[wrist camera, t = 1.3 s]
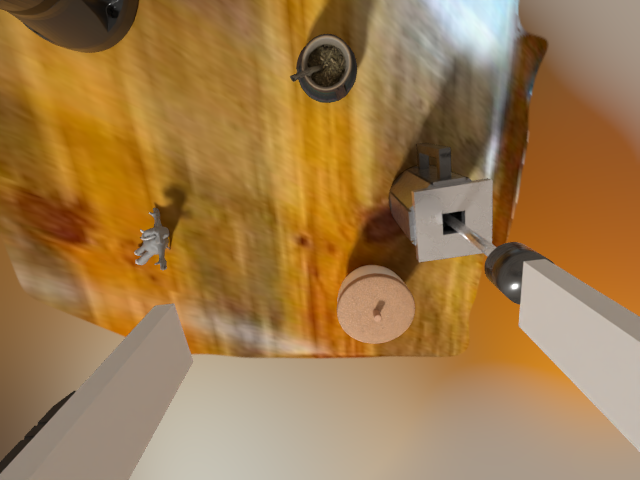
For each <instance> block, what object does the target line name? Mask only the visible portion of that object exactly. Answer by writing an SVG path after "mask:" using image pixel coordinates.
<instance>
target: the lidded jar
mask: <svg viewBox="0 0 640 480" xmlns="http://www.w3.org/2000/svg"><path fill="white" fill-rule="evenodd" d="M414 313H415V303H414V299H413V296H412V294H411V292H410V290H409V289H408V288H407V286H406V285H405V283H404V282H403V280H402V279H401V278H400V277H399V276H398V275H397V274H396V273H394V272H393V271H391V270H390V269H388V268H386V267H383V266H378V265H366V266H362V267H359V268H357V269H355V270H354V271H352V272H351V273H350V274H349V275H348V276H347V277H346V278H345V279H344V281H343V282H342V285H341V287H340V289H339V294H338V304H337V315H338V320H339V323H340V325H341V327H342V328H343V329H344V331H345V332H346V333H347V334H348V335H350V336H351V337H353V338H354V339H356V340H358V341H361V342H365V343H384V342H388V341H390V340H393V339H395V338H397V337H398V336H400V335H401V334H402V333H403V332H404V331H405V330H406V329H407V328H408V327H409V326H410V324H411V322H412V320H413V317H414Z"/></svg>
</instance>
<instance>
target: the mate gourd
mask: <svg viewBox="0 0 640 480" xmlns="http://www.w3.org/2000/svg"><path fill="white" fill-rule="evenodd" d="M296 69H297V74H294V75H292V76H290V78H291V79H292V81H296V80H297V79H298V80H299V82H300V85H301V88H302V89H303V90H304V91H305V93H306V94H307V95H308V96H309V97H311V98H312V99H314V100H316V101H319V102H325V103H328V102H329V103H330V102H335V101H339V100H340V99H341V98H344V97H345V96H346V95H347V94H348V92H349V91H350V90H351V88H352V87H353V85H354V82H355V80H356V74H357V63H356V59H355V56H354V53H353V52H352V50H351V48H350V47H349V46H348V45H347V44H346V43H345V42H344V41H343V40H342V39H341V38H339V37H337V36H335V35H332V34H323V35H319V36H317V37H315V38H314V39H312V40H311V41H310V42H309V43H308V44H307V46H305V47H304V48H303V50H302V51H301V53H300V55H299V58H298V61H297V68H296Z"/></svg>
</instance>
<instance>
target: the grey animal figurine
mask: <svg viewBox="0 0 640 480" xmlns="http://www.w3.org/2000/svg"><path fill="white" fill-rule="evenodd" d="M153 211H154V213H151V212H149V214H151V215H152V216H153V217H154V219H155V224H154V228H150V229H148V230H146V231H143V230H141V229H140V231H141V232H142V233H143V234H142V237H140V238H141V239H143V240H144V241H143V245H142V246H141V247H140V248H138V249H137V250H135V252H134V253H135V255H138V256H141V257H140V258H139V259H137V260H136V264H138V265H144V264H145V263H146V262H147V261H148V260H149V258H150V257H152V256H153V255H154V254H159V262H157V263H155V265H157V264H160V267H161V270H166V269H167V266H166V260H165V258H164V252H165V249H166V248H169V247H168V246H167V245H168V242H169V241H168V236H169V230H168V228H167V227H163V226H162V224H161V221H160V212H159V210H158V209H157V208H153ZM169 249H170V248H169Z"/></svg>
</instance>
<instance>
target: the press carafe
mask: <svg viewBox="0 0 640 480" xmlns="http://www.w3.org/2000/svg"><path fill="white" fill-rule="evenodd" d="M416 146H417V161H418V166H414V167H411V168H409V169H407V170H405V171H404V172H403V173H401V174H400V175H399V176H398V177H397V178H396V180H395V181H394V183H393V184H392V186H391V189H390V192H389V207H390V210H391V212H392V216H393V218H394V219H395V221H396V222H397V223H398V225H399V226H400V227H401V229H402V230H403V232H404V233H405V234H406V236H407V237H408V238H409V240H410V241H411V242H412V243H413V244H414V245H415V246H416V258H417V260H418V262H424V261H431V260H439V259H446V258H453V257H460V256H467V255H472V254H479V253H483V252H482V251H480V250H479V249H478V248H477V247H475V246H474V245H473V244H472V243H471V242H469V241H468V240H467V239H466V238H464V237H463V236H462V235H461V234H459V233H458V232H457V231H456V230H451V231H445V232H443V221H442V214H445V213H452V212H458V211H461V212H462V223H463V224H465V225H466V226H467V227H469V228H470V229H472V230H473V231H474V232H476V233H477V234H479V235H480V236H481V237H483V238H484V239H486V240H487V241H488V242H490V243H491V244H492V180H491V179H488V178H487V179H481V180H474V181H471V180H470V179H469V178H467V177H465V176H462V175H459V174H456V173H454V172H451V150H450V147H446V146H440V145H435V144H429V143H422V144H416ZM429 156H432V157H435V158H436V162H437V166H434V165H430V166H429Z"/></svg>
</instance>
